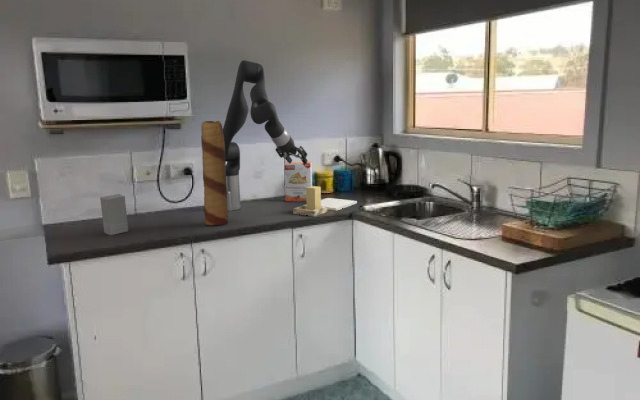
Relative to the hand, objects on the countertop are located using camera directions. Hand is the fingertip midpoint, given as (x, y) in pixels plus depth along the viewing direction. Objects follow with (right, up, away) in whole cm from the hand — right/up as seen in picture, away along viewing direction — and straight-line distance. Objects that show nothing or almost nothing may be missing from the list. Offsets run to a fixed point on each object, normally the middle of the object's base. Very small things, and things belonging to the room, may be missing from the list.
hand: (298, 162), depth 235 cm
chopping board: (+16, -20, +28) cm, 38 cm away
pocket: (+6, -23, +13) cm, 27 cm away
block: (+7, -23, +14) cm, 28 cm away
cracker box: (-1, -18, +41) cm, 45 cm away
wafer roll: (-36, -28, -6) cm, 46 cm away
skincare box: (-76, -31, -18) cm, 84 cm away
